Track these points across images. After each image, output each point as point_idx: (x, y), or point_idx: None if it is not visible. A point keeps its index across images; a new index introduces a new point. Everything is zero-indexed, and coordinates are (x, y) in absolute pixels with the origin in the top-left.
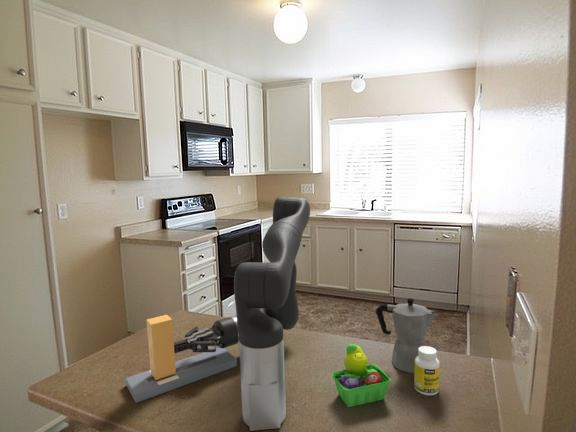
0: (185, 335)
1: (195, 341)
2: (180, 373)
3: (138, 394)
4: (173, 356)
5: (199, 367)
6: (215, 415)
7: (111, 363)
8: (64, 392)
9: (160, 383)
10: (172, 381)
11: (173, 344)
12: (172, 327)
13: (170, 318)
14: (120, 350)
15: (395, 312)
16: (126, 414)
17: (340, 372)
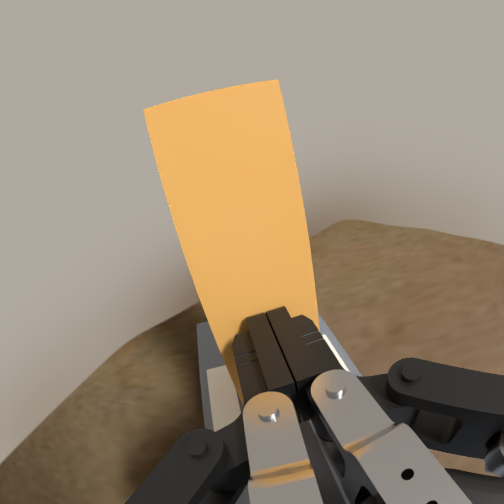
0: (404, 364)
1: (208, 460)
2: None
3: (197, 331)
4: (225, 359)
5: None
6: (29, 474)
7: (425, 261)
8: (317, 242)
9: (212, 374)
10: (204, 409)
11: (201, 301)
12: (160, 175)
13: (169, 101)
14: (483, 257)
15: None
16: (173, 331)
17: None
